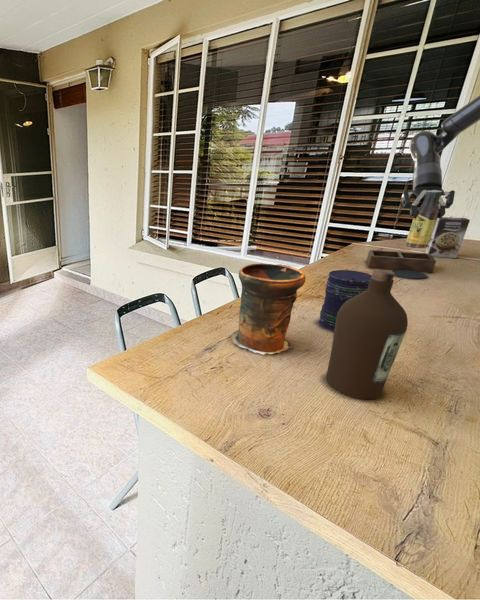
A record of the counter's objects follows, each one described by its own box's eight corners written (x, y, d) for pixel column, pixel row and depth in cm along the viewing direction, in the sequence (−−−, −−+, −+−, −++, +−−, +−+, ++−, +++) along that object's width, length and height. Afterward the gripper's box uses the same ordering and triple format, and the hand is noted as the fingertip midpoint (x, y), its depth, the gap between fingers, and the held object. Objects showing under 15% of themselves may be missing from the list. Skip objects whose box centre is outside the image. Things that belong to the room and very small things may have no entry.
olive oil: (313, 383, 74) (338, 272, 65) (334, 366, 80) (360, 261, 71) (373, 409, 66) (412, 285, 57) (393, 387, 72) (431, 272, 62)
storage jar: (316, 316, 104) (326, 268, 98) (356, 321, 100) (369, 271, 94) (320, 331, 96) (331, 279, 90) (365, 336, 91) (379, 283, 86)
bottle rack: (426, 265, 140) (429, 253, 138) (432, 273, 132) (436, 260, 130) (366, 261, 150) (369, 249, 148) (368, 267, 142) (371, 256, 140)
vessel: (271, 363, 82) (284, 284, 75) (219, 341, 94) (226, 270, 86) (303, 345, 89) (318, 270, 82) (252, 326, 101) (261, 259, 93)
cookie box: (427, 256, 151) (439, 218, 145) (424, 253, 156) (436, 216, 150) (457, 258, 146) (470, 219, 140) (453, 255, 151) (466, 217, 145)
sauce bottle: (400, 245, 131) (416, 190, 124) (420, 244, 130) (437, 189, 123) (412, 249, 125) (429, 192, 118) (432, 249, 124) (451, 191, 117)
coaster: (423, 272, 133) (423, 271, 133) (428, 280, 125) (429, 279, 125) (389, 270, 138) (389, 268, 138) (392, 277, 130) (392, 276, 130)
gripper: (405, 172, 127) (404, 210, 122) (459, 170, 121) (461, 210, 116) (397, 186, 134) (396, 222, 129) (448, 185, 127) (450, 223, 122)
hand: (427, 216), depth 122 cm, fingers closed on sauce bottle, 6 cm apart
